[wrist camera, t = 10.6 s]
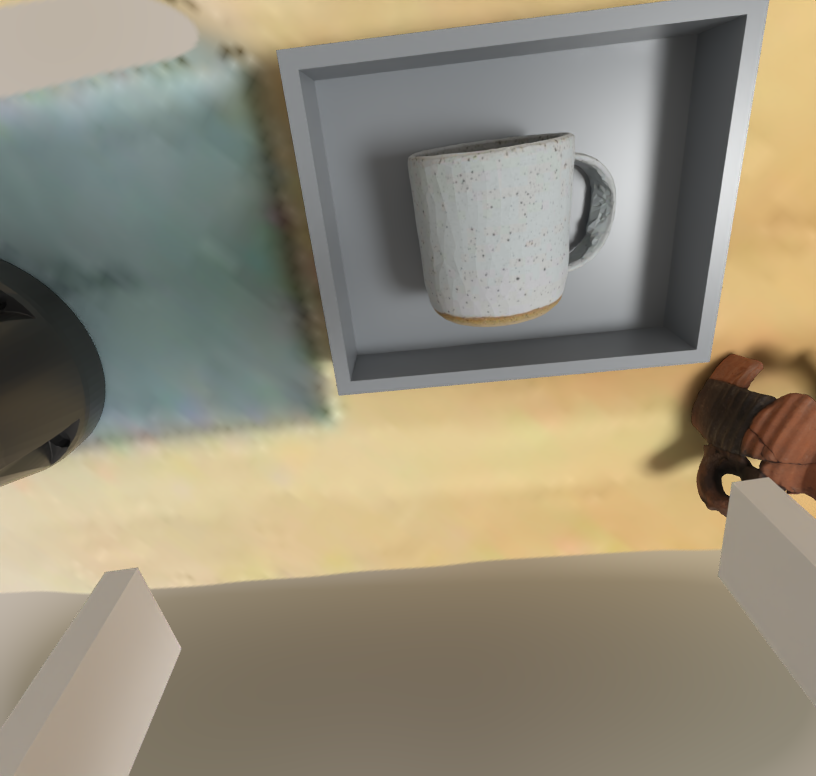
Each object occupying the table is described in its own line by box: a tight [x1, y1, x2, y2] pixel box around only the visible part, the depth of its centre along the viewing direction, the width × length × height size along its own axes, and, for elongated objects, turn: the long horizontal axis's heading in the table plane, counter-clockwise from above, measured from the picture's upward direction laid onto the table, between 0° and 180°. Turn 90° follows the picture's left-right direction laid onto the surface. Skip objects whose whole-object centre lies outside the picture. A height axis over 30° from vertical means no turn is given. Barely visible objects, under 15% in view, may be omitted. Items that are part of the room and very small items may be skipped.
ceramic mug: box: [408, 132, 616, 327], centre depth 25 cm, size 11×8×8 cm
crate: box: [276, 0, 769, 395], centre depth 27 cm, size 21×17×5 cm
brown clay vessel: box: [692, 354, 816, 517], centre depth 33 cm, size 12×10×8 cm
